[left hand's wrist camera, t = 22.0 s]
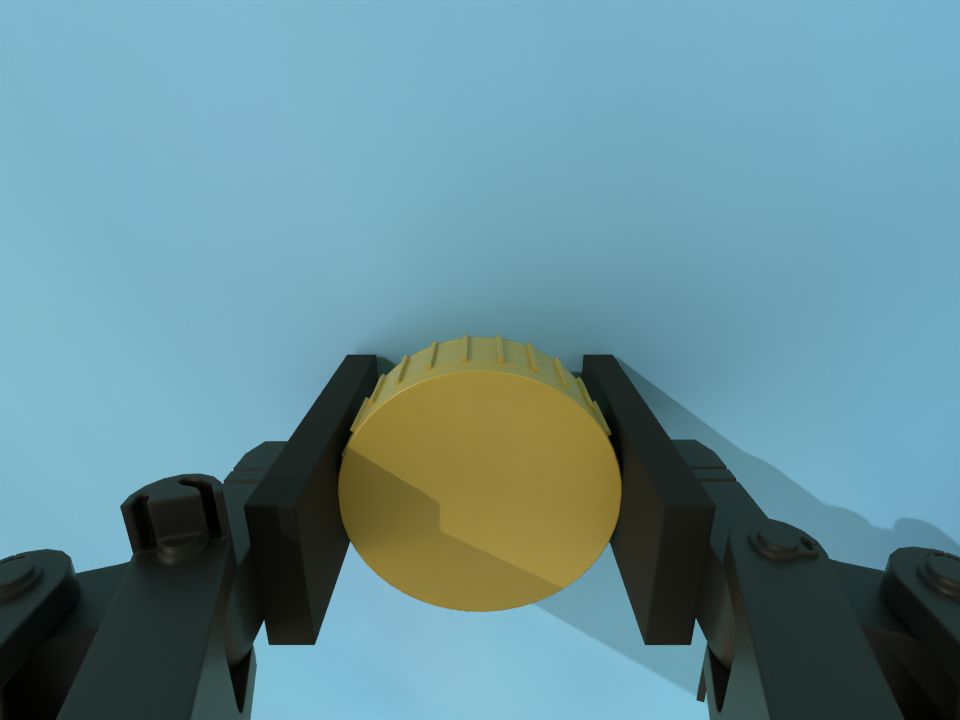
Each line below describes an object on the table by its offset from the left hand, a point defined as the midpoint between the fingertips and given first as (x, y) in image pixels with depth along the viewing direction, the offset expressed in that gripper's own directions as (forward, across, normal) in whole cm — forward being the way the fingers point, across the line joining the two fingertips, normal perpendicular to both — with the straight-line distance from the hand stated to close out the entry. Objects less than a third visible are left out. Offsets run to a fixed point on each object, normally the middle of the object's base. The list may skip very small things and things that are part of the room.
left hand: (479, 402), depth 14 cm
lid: (-4, 0, 0) cm, 4 cm away
